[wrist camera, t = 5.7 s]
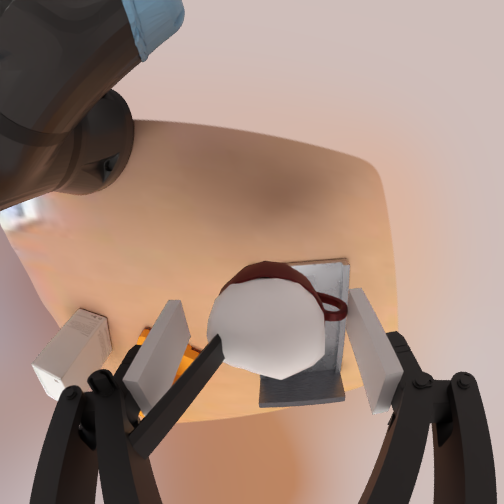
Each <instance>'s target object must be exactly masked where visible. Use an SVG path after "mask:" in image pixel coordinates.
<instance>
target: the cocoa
mask: <svg viewBox="0 0 504 504" xmlns="http://www.w3.org/2000/svg"><path fill="white" fill-rule="evenodd" d="M322 303H326V304H329V305H332V306H335V307H337V308H338V309H340V310H339V311H328V310H325V309H324V306H323V304H322ZM347 313H348V308H347V304H346V303H345V302H344V301H342V300H341V299H339V298H337V297H334V296H331V295H328V294H325V293H320V292H316V291H315V289H314V287H313V286H312V284H311V282H310V281H309V280H308V278H307V277H306V276H304V275H303V274H302V273H300V272H299V271H297V270H295V269H294V268H292V267H291V266H289V265H287V264H286V263H278V262H270V261H263V262H260V263H256V264H253V265H249V266H246V267H244V268H243V269H242V270H241V271H240V272H239V273H237V274H236V275H235V276H234V277H233V278H232V279H231V280H230V281H229V282H227V283H226V284H225V286H224V287H223V288H222V289H221V291H220V294H219V296H218V297H217V298H216V299H215V302H214V304H213V307H212V310H211V313H210V316H209V319H208V327H207V339H208V342H209V343H208V344H207V346H206V347H205V348H204V349H203V350H202V351H201V353H200V354H199V355H198V356H197V357H196V359H195V360H194V361H193V362H192V363H191V364H190V366H189V367H188V368H187V369H186V370H185V371H184V373H183V374H182V375H181V376H180V377H179V378H178V379H177V381H176V382H175V383H174V384H173V385H172V386H171V387H170V389H169V390H168V391H167V392H166V393H165V394H164V395H163V397H162V398H161V399H160V400H159V401H158V402H157V403H156V405H155V406H154V407H153V408H152V409H151V410H150V411H149V412H148V414H147V415H146V416H145V417H144V418H143V419H142V420H141V421H140V423H139V424H138V425H137V426H136V427H135V428H134V429H133V430H132V431H131V432H130V434H129V436H128V438H129V440H130V443H131V445H132V447H133V448H134V449H135V450H136V451H137V453H138V454H139V455H140V456H141V457H142V458H143V459H144V460H146V459H147V458H148V456H149V455H150V454H151V453H152V452H153V450H154V449H155V448H156V447H157V446H158V444H159V443H160V442H161V441H162V439H163V438H164V437H165V436H166V434H167V433H168V432H169V431H170V429H171V428H172V427H173V426H174V424H175V423H176V422H177V421H178V420H179V418H180V417H181V416H182V414H183V413H184V412H185V411H186V409H187V408H188V407H189V406H190V404H191V403H192V402H193V400H194V399H195V398H196V396H197V395H198V394H199V393H200V391H201V390H202V389H203V387H204V386H205V385H206V383H207V382H208V381H209V379H210V378H211V377H212V375H213V374H214V373H215V371H216V370H217V369H218V367H219V366H220V365H221V363H222V362H224V363H226V364H229V365H231V366H233V367H237V368H241V369H246V370H248V371H250V372H253V373H257V374H260V375H264V376H268V377H271V378H275V379H279V380H282V379H285V378H287V377H289V376H292V375H294V374H296V373H298V372H301V371H303V370H305V369H307V368H309V367H311V366H313V365H314V364H315V363H316V362H317V361H318V360H319V359H321V358H322V357H323V356H324V355H325V321H330V322H331V321H341V320H343V319H345V317H346V316H347Z"/></svg>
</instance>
